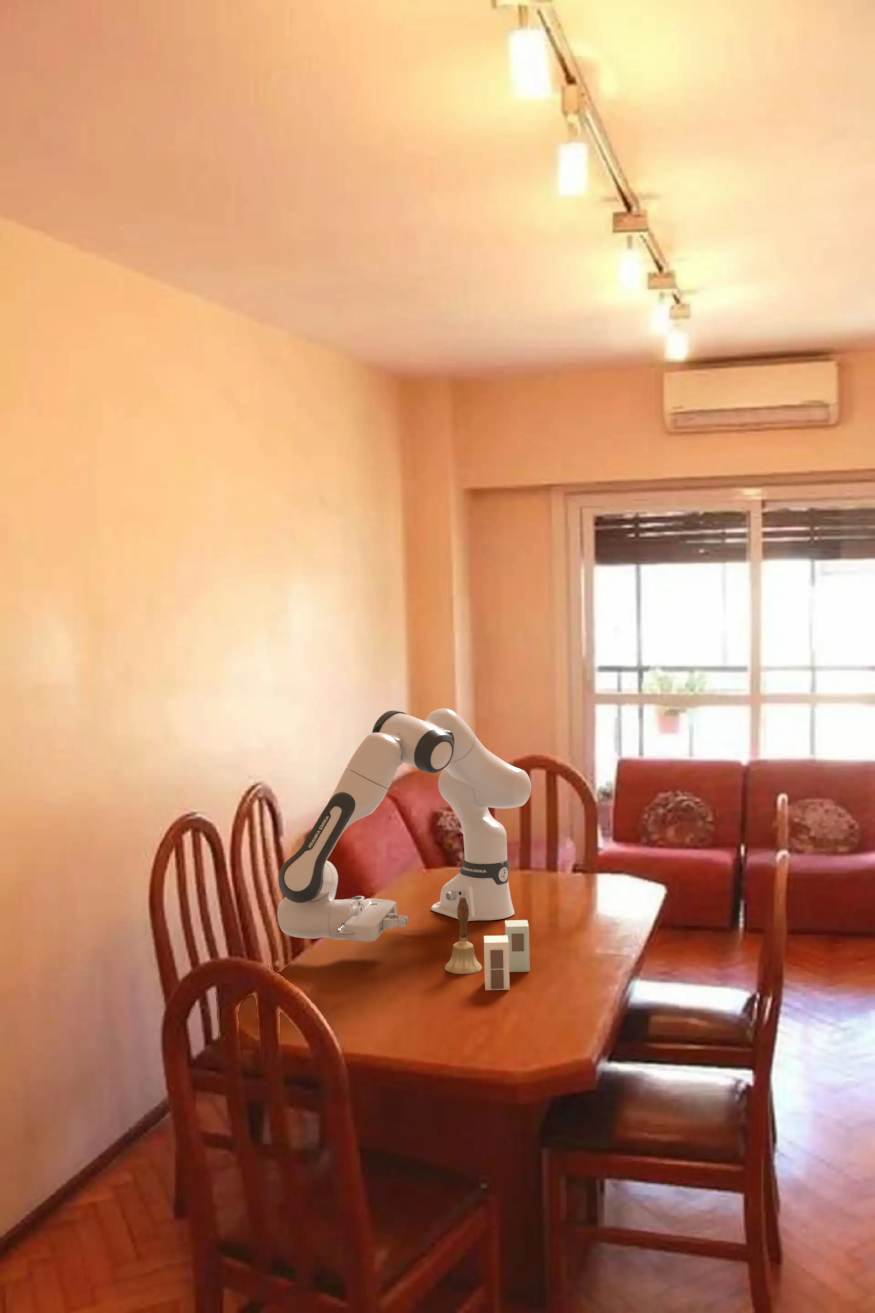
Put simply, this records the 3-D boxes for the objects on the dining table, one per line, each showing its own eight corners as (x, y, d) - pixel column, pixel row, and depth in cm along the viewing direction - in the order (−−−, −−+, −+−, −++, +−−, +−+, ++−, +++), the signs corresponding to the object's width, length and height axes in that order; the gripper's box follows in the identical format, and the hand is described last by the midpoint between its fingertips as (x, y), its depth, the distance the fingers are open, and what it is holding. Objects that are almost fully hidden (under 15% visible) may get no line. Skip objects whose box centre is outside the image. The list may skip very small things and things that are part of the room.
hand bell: (486, 964, 255) (485, 893, 254) (476, 976, 247) (474, 903, 246) (451, 961, 257) (449, 891, 257) (439, 973, 250) (438, 900, 249)
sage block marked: (505, 965, 254) (504, 920, 254) (528, 964, 254) (527, 920, 254) (506, 972, 249) (506, 927, 248) (529, 972, 249) (528, 926, 248)
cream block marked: (484, 982, 243) (483, 936, 242) (508, 982, 243) (507, 935, 242) (485, 990, 237) (484, 943, 237) (509, 990, 237) (508, 942, 237)
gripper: (332, 919, 248) (394, 921, 245) (359, 893, 268) (416, 895, 265) (333, 948, 248) (395, 950, 245) (360, 920, 268) (417, 921, 265)
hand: (406, 921), depth 255 cm, fingers closed
